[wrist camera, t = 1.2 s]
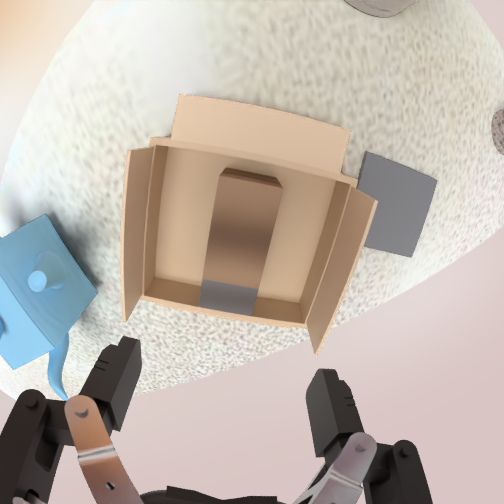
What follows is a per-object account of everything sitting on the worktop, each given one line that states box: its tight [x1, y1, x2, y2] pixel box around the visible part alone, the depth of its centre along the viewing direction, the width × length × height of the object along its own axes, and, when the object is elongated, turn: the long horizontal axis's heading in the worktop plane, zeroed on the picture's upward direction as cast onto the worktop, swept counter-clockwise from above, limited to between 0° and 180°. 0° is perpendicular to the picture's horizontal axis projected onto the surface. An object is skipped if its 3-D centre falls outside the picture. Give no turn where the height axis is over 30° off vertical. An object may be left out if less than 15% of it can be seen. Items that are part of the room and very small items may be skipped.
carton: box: [120, 94, 378, 355], centre depth 24 cm, size 20×18×10 cm
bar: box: [199, 168, 284, 316], centre depth 26 cm, size 12×5×6 cm, turn 168°
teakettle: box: [0, 214, 98, 401], centre depth 24 cm, size 19×19×15 cm
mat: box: [356, 152, 437, 257], centre depth 28 cm, size 10×10×1 cm
